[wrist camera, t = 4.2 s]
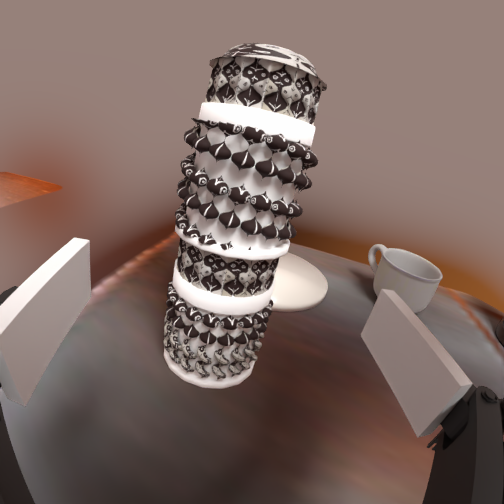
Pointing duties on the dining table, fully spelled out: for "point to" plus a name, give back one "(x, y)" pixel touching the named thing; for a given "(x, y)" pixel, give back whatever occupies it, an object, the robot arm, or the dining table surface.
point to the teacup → (405, 276)
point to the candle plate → (297, 285)
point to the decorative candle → (238, 209)
